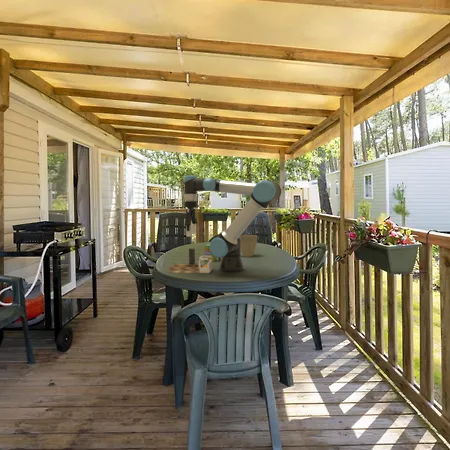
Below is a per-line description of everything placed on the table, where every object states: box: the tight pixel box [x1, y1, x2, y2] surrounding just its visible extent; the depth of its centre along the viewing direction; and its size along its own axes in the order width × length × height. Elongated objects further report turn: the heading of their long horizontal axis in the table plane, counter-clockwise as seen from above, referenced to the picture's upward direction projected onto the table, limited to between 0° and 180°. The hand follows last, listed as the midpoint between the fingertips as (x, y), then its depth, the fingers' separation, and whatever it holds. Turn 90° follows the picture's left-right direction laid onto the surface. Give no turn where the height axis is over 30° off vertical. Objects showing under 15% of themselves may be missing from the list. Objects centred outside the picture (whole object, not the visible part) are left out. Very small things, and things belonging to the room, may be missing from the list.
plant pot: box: [240, 234, 258, 258], centre depth 276 cm, size 15×15×16 cm
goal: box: [198, 255, 213, 274], centre depth 220 cm, size 6×10×9 cm, turn 172°
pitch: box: [168, 263, 203, 274], centre depth 222 cm, size 19×12×3 cm, turn 82°
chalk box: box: [204, 243, 221, 263], centre depth 259 cm, size 9×9×15 cm
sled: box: [187, 248, 197, 267], centre depth 221 cm, size 4×6×12 cm, turn 172°
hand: (191, 235), depth 220 cm, fingers open, 13 cm apart
